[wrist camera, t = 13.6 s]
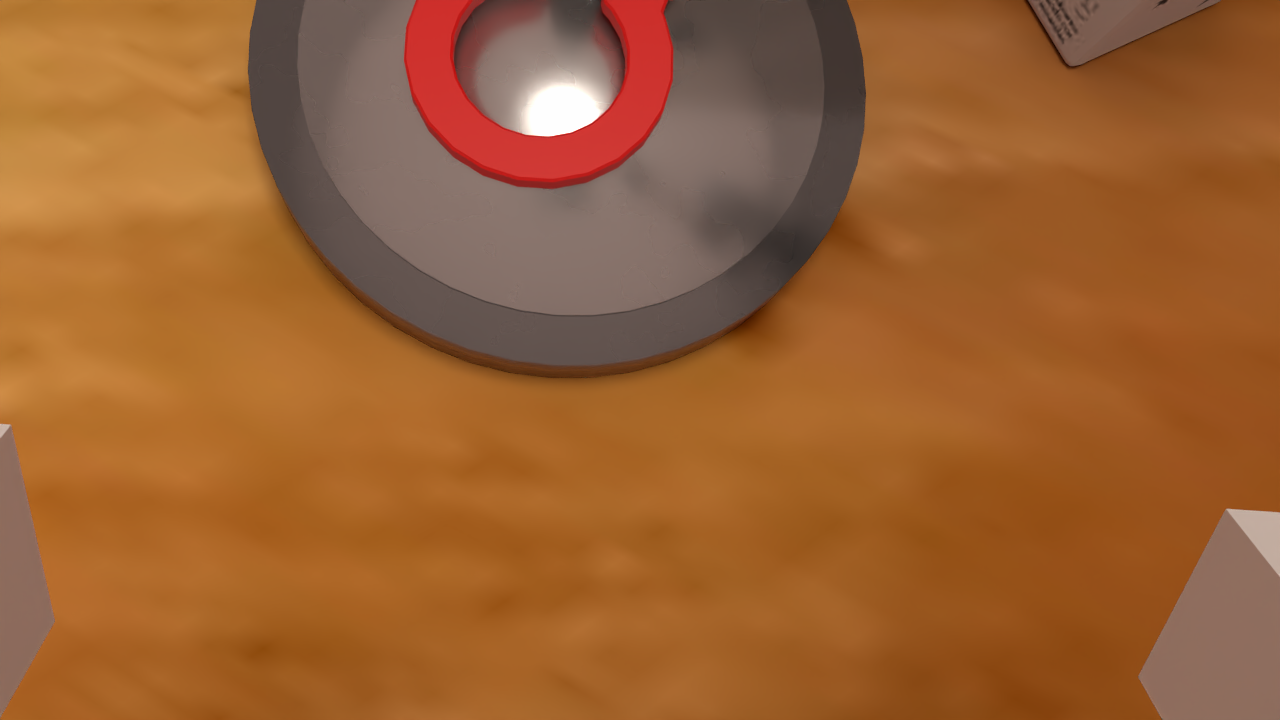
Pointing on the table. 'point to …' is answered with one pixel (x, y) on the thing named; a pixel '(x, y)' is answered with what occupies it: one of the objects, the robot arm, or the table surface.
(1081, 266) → the table surface
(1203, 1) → the cereal box
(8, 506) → the robot arm
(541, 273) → the dark grey plate
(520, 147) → the tow hook
